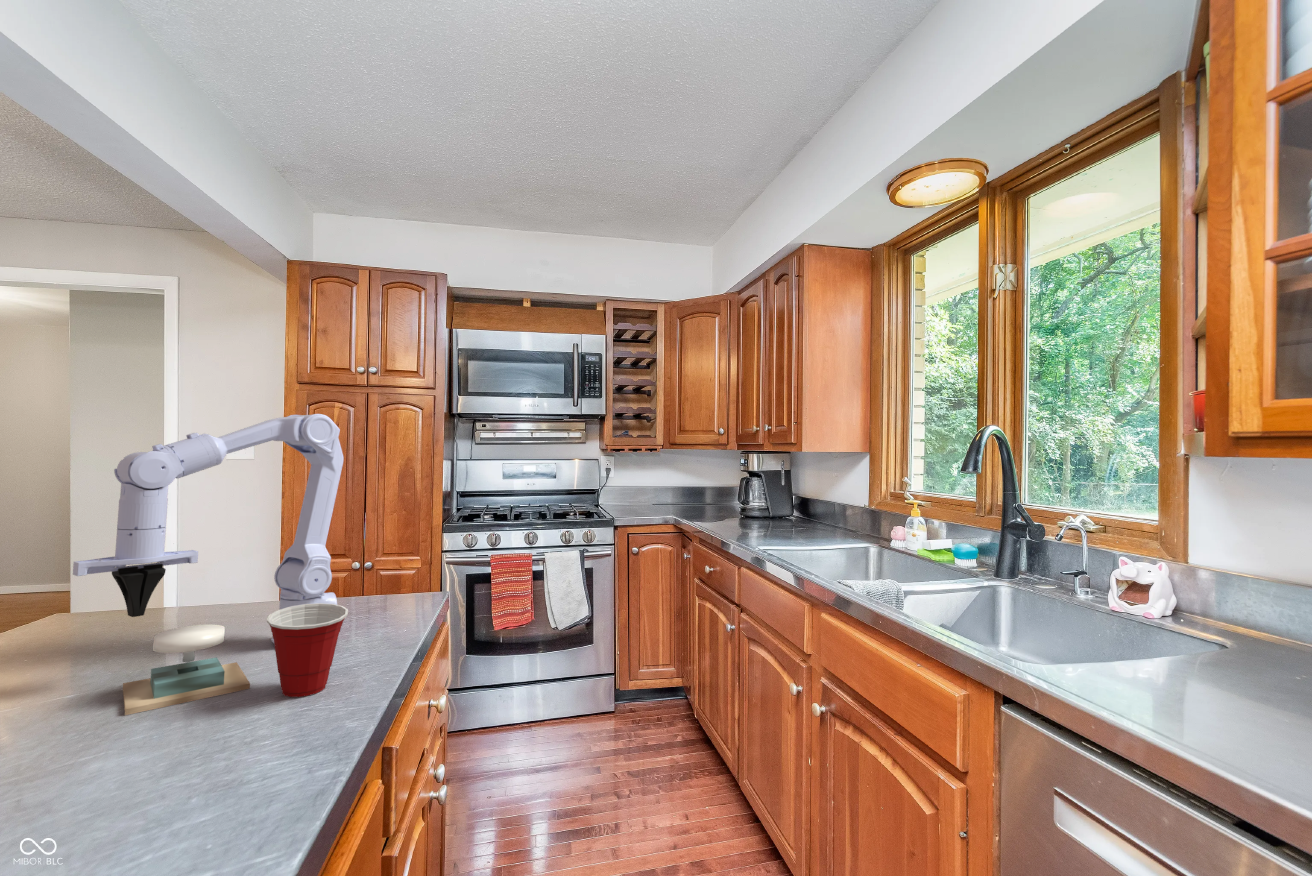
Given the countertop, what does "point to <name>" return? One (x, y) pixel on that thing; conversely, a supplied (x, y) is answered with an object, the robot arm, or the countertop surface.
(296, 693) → the plastic cup
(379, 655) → the countertop surface
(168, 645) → the disc
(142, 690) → the dispenser base
